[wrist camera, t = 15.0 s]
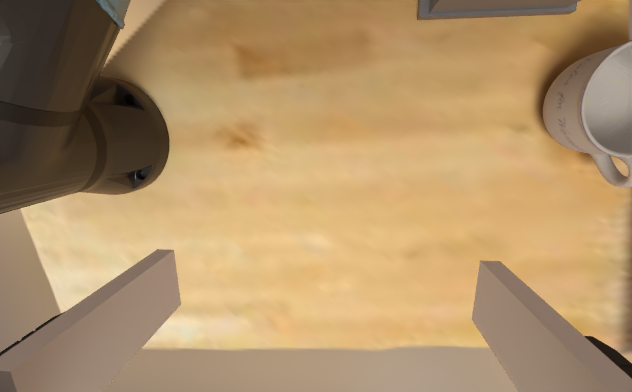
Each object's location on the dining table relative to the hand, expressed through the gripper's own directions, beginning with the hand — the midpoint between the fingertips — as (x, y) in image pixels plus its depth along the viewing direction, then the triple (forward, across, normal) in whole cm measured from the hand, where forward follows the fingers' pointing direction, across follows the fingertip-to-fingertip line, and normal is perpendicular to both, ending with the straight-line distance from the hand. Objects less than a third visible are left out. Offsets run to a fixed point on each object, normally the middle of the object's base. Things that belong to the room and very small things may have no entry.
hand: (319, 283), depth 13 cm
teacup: (+27, +28, +7) cm, 40 cm away
